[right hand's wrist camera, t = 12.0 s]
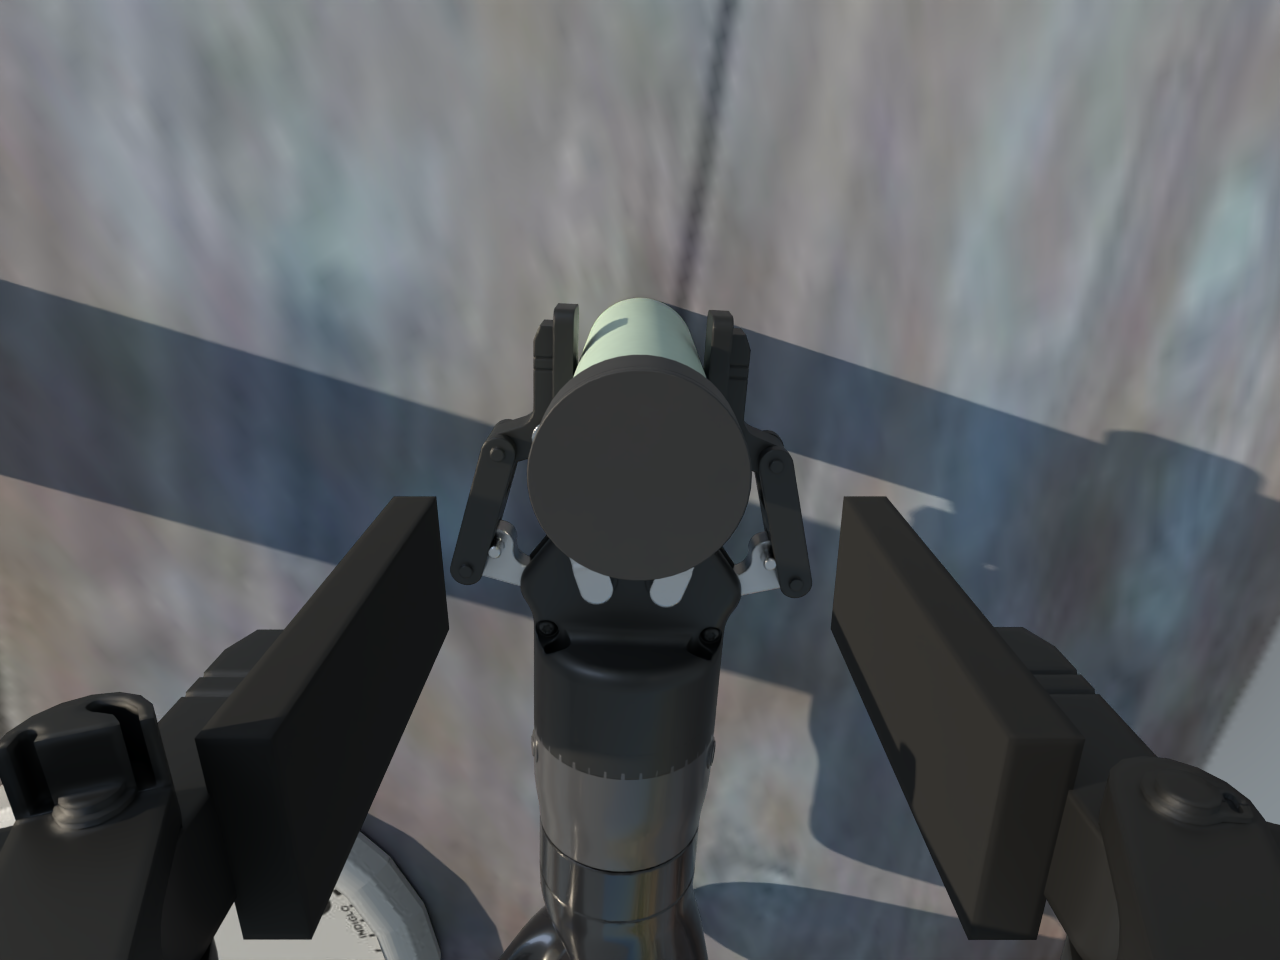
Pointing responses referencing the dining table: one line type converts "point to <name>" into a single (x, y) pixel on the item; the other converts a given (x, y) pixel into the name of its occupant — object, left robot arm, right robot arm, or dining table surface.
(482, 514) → the left robot arm
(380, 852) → the wall clock
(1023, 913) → the right robot arm
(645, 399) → the lid
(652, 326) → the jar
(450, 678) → the dining table surface
